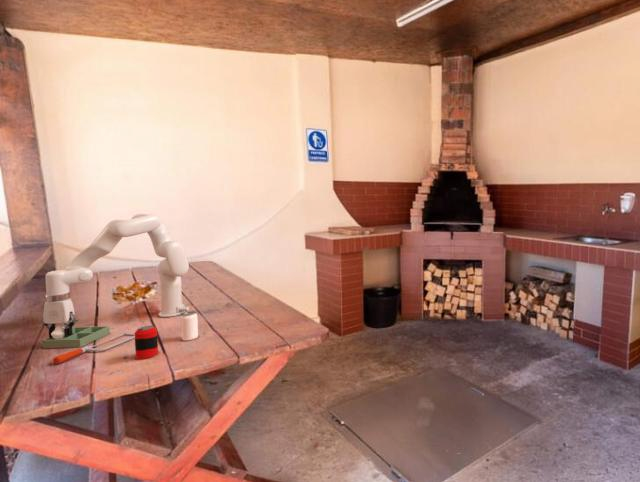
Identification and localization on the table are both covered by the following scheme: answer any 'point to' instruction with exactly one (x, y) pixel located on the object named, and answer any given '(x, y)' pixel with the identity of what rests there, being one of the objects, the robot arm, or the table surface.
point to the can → (189, 326)
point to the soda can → (146, 342)
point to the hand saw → (87, 348)
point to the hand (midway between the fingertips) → (60, 335)
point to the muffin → (59, 332)
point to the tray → (77, 337)
